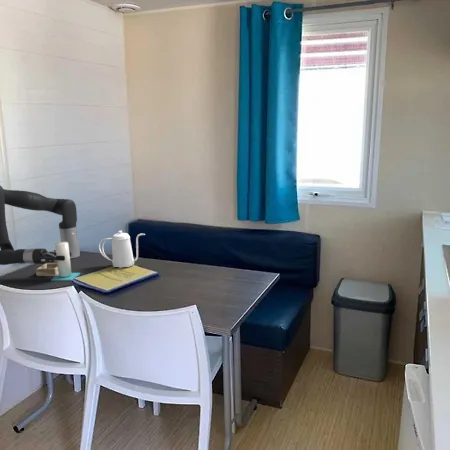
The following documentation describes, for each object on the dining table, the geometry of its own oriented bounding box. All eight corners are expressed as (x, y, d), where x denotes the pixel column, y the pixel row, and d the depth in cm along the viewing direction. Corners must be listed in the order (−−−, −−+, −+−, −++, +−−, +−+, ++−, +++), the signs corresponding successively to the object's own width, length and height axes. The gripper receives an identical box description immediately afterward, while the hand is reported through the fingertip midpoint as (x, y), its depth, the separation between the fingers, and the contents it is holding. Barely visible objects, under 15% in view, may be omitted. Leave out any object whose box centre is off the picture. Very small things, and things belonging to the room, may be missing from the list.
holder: (46, 269, 235) (46, 263, 235) (65, 269, 234) (64, 263, 233) (36, 276, 226) (35, 269, 225) (55, 276, 224) (54, 269, 224)
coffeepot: (145, 268, 229) (141, 232, 225) (97, 269, 232) (93, 233, 228) (150, 262, 240) (147, 227, 236) (105, 263, 243) (101, 228, 239)
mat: (61, 274, 227) (61, 272, 227) (80, 273, 226) (79, 272, 226) (51, 280, 217) (51, 279, 217) (71, 280, 216) (70, 279, 216)
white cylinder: (62, 272, 225) (58, 241, 221) (73, 272, 224) (70, 241, 220) (56, 276, 219) (52, 244, 215) (68, 276, 218) (64, 244, 215)
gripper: (26, 252, 213) (60, 252, 211) (42, 244, 227) (73, 244, 225) (28, 268, 215) (61, 268, 213) (44, 259, 229) (75, 259, 227)
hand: (67, 256), depth 219 cm, fingers closed on white cylinder, 6 cm apart
